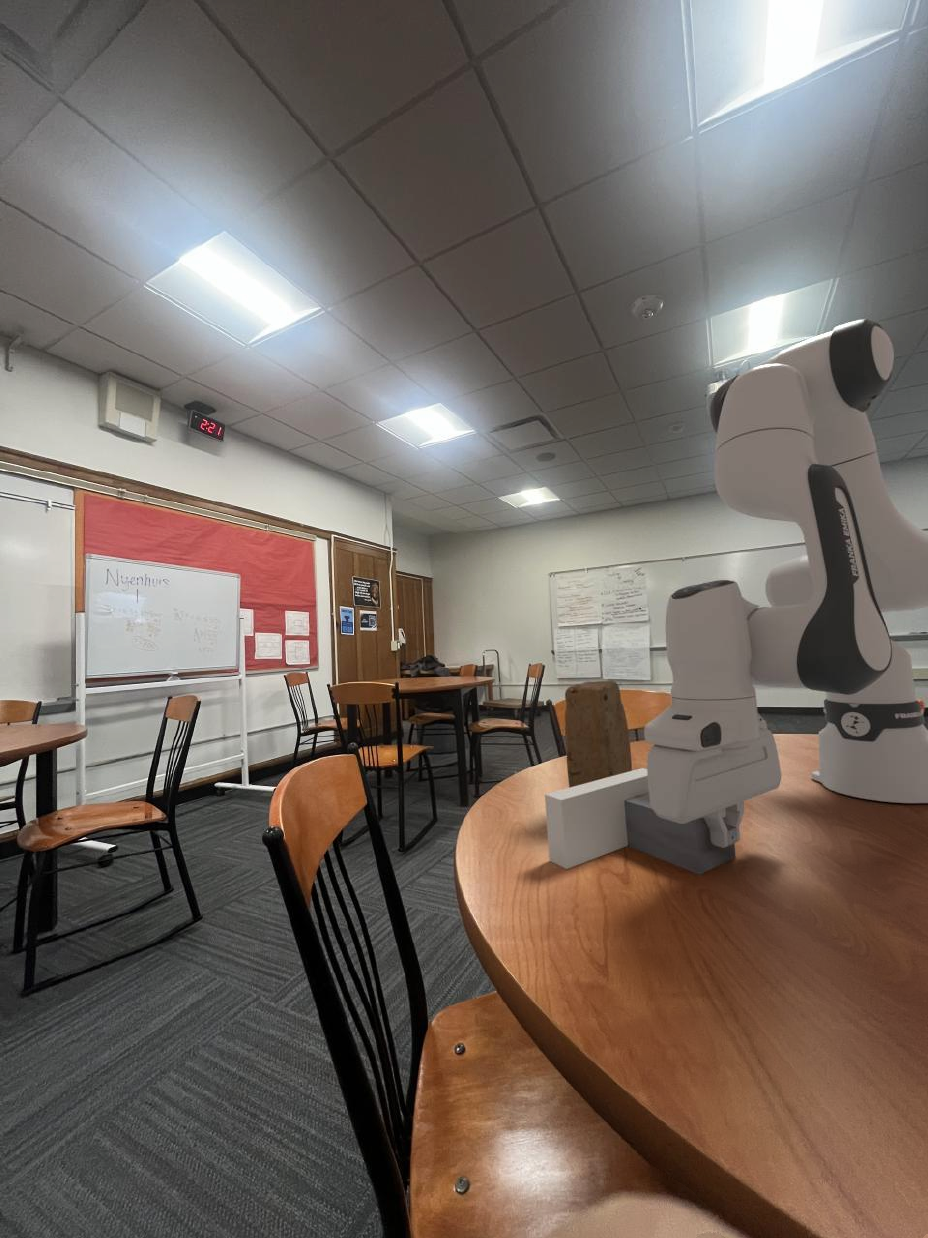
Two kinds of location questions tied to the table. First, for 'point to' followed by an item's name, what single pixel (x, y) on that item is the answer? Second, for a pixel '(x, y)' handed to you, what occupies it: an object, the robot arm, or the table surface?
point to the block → (595, 732)
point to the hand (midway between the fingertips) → (725, 843)
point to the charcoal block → (673, 838)
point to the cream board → (591, 817)
